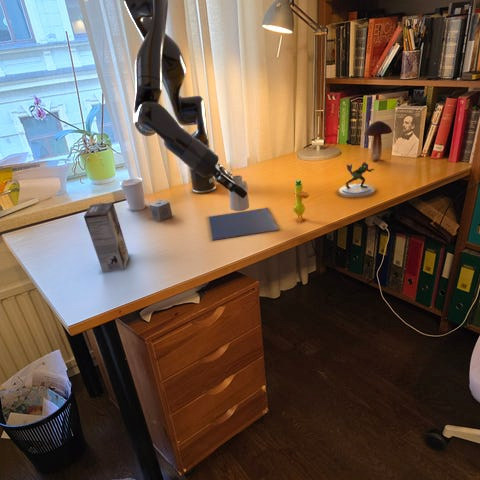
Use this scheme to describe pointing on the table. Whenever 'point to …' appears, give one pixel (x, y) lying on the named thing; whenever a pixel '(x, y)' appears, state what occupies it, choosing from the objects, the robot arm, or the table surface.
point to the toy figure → (299, 200)
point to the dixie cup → (133, 193)
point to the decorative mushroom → (377, 137)
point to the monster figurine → (357, 189)
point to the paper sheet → (242, 224)
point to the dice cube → (161, 210)
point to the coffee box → (107, 236)
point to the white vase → (235, 199)
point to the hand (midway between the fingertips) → (243, 192)
